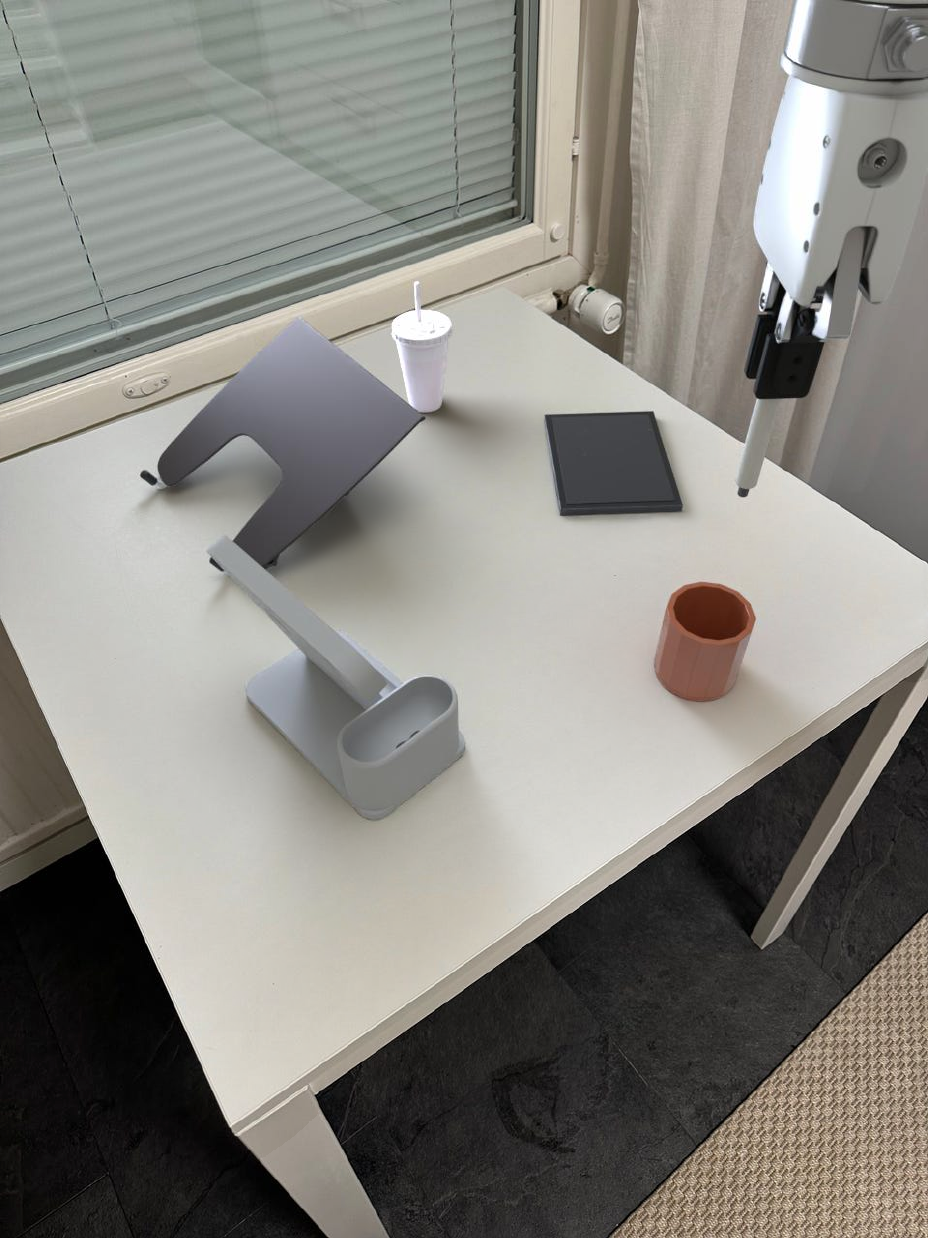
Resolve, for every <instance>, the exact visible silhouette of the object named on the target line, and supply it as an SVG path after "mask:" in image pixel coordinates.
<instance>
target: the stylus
mask: <svg viewBox="0 0 928 1238" xmlns="http://www.w3.org/2000/svg"><path fill="white" fill-rule="evenodd" d="M784 297H785V296H784ZM783 301H784V298H783ZM782 304H783V302H782ZM781 308H782V306H781ZM805 308H808V306H801V307H800V310H799V312H801V311H802V310H803V309H805ZM780 311H781V310H780ZM779 315H780V313H779ZM778 318H779V317H778ZM777 322H778V321H777ZM774 334H775V332H774ZM781 402H782V399H757V398H756V401H755V405H754V408H753V412H752V415H751V419H750V423H749V427H748V430H747V433H746V434H747V435H746V437H745V440H744V441H745V442H744V446H743V448H742V449H743V450H742V453H741V457H740V461H739V464H738V469H737V472H736V476H735V480H734V481H735V485H736V486H737V487H738V489H737V493H736V494H737V496H738V497H740V498H747V497H748V495H749V492H750V490H751V489H754V488H755V487H756V486H757V484H758V481H759V477H760V474H761V470H762V467H763V464H764V460H765V457H766V454H767V450H768V446H769V443H770V439H771V436H772V433H773V429H774V425H775V422H776V419H777V415H778V412H779V409H780V404H781Z"/></svg>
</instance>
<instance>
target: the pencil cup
mask: <svg viewBox="0 0 928 1238" xmlns="http://www.w3.org/2000/svg"><path fill="white" fill-rule="evenodd" d="M665 607H666V608H665V611H664V617H663V621H662V625H661V630H660V634H659V638H658V643H657V647H656V652H655V656H654V671H655V675H656V677H657V679H658V681H659V682H660V683H661V685H662V686H663V687H664V688H665V689H666V690H668V691H669V692H670V693H671V694H673V695H675V696H677V697H679V698H682V699H685V700H687V701H692V702H711V701H715V700H718V699H720V698H722V697H724V696H726V695H727V694H728V693H730V691H731V690H732V688H733V687H734V686H735V684H736V680H737V677H738V675H739V672H740V669H741V666H742V663H743V659H744V657H745V654H746V652H747V648H748V645H749V642H750V640H751V636H752V633H753V630H754V627H755V623H756V620H757V618H756V614H755V611H754V608H753V606H752V604H751V602H750V601H748V599H746V597H744V595H742V594H741V592H739V591H737V590H735V589H733V588H731V587H729V586H726V585H725V584H722V583H716V582H709V581H698V582H691V583H687V584H684V585H682V586H680V587H679V588H678V589H676V590H675V591H674V592H672V593H671V594H670V597H669V599H668V602H667V604H666V606H665Z"/></svg>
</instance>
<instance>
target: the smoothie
mask: <svg viewBox="0 0 928 1238" xmlns="http://www.w3.org/2000/svg"><path fill="white" fill-rule="evenodd" d="M413 287H414V289H413V290H414V304H415V310H410V311H407V312H404V313H402V314H400V315H398V316H397V317H396V318H395V319H394V320H393V322H392V323H391V329H392V331H391V336H392V338H393V340H394V341H395V342H396V347H397V352H398V356H399V361H400V366H401V370H402V375H403V381H404V385H405V390H406V396H407V402H408V404H410V405H411V406H412V407H413V408H415V409H416V410H417V411H418V412H420V413H421V414H422V413H423V414H425V413H432V412H435V411H437V410H439V409H440V408H441V407H442V405H443V396H444V387H445V377H446V369H447V360H448V352H449V351H448V350H449V340H450V339H451V338H452V336H453V328H452V327H453V326H452V321H451V319H450V318H449V317H448V316H447V315H445V314H444V313H442V312H439V311H435V310H430V309H422V308H421V307H422V305H421V284H420V281H414V282H413Z"/></svg>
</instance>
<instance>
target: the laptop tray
mask: <svg viewBox="0 0 928 1238" xmlns="http://www.w3.org/2000/svg"><path fill="white" fill-rule="evenodd" d="M424 421H426V416H425V415H424V414H422V412H418V411H417V410H416V409H415V408H413V407H412V406H411V405H410V404H409V402H408V401H406V400H405V399H403V397H401V396H400V395H398V394H397V393H396V392H394V390H392V389H391V388H390V387H389V386H387V385H386V384H385V383H383V382H382V381H381V380H380V379H378V378H377V377H376V376H375V375H373V374H372V373H371V372H370V371H368V370H367V369H366V368H365V367H363V366H362V365H361V364H360V363H359V362H357V360H355V359H353V358H352V357H351V356H350V355H348V354H347V353H345V352H344V351H343V350H342V349H341V348H339V346H337V345H336V344H334V343H333V342H332V341H331V340H330V339H328V338H327V337H326V336H325V335H324V334H322V333H321V332H320V331H318V330H317V329H316V328H315V327H313V326H312V325H311V324H310V323H308V322H307V321H306V320H305V319H303V318H302V317H301V316H297V317H296V318H294V319H293V320H292V321H291V322H290V323H289V324H288V325H287V326H286V327H285V328H284V329H282V331H281V332H279V333H278V334H277V335H276V336H275V337H273V339H272V340H271V341H270V342H269V343H267V344H266V345H265V346H264V347H263V348H262V349H261V350H260V351H259V352H258V353H257V354H256V355H255V356H254V357H253V358H252V359H251V360H250V361H249V362H247V364H246V365H244V367H242V368H241V370H240V371H238V372H237V374H236V375H234V377H232V378H231V379H230V381H229V382H227V384H225V385H224V386H223V387H222V388H221V389H220V390H219V392H217V393H216V394H215V396H213V397H212V399H211V400H209V401H208V403H207V404H205V405H204V407H203V408H202V409H200V411H199V412H198V413H197V414H196V415H195V416H194V417H193V418H192V419H191V420H190V421H189V423H188V424H187V425H185V427H184V428H183V429H182V430H181V432H179V434H178V435H177V436H176V437H175V438H174V439H173V440H172V441H171V443H170V444H169V445H168V446H167V447H166V448H165V449H164V450H163V452H162V454H161V455H160V457H159V459H158V462H157V473H158V475H159V477H160V479H161V480H158V478H157V477H156V476H154V475H153V474H152V473H151V472H149V471H148V470H147V469H143V470H142V471H140V474H139V476H140V478H141V479H143V481H145V482H146V483H147V484H148V485H150V486H152V487H153V488H155V489H157V490H163V489H166V488H167V487H168V488H172V487H175V486H176V485H178V484H180V483H181V482H182V481H183V480H185V479H186V478H187V477H188V476H190V475H191V474H192V473H194V472H195V471H197V470H198V469H199V468H200V467H202V466H203V465H205V464H206V463H207V462H208V461H209V460H210V459H212V458H213V457H214V456H216V454H217V453H219V452H220V451H221V450H223V448H224V447H226V446H227V445H228V444H229V443H230V442H232V441H233V440H234V439H237V438H238V437H242V436H247V437H249V438H250V439H252V440H253V441H254V442H255V443H256V444H257V445H258V446H259V447H260V448H261V449H262V450H263V451H264V452H265V453H266V454H267V455H268V456H269V457H270V458H271V459H272V460H273V461H274V462H275V463H276V464H277V465H278V467H279V468H280V469H281V472H282V477H281V481H280V483H279V485H278V486H277V488H276V489H275V490H274V491H273V492H272V494H270V495H269V496H268V497H267V499H266V500H265V501H264V502H263V503H262V504H261V505H260V507H258V509H257V510H256V511H255V513H253V515H252V516H251V517H250V518H249V520H248V521H247V522H246V523H245V524H244V525H243V527H242V528H241V529H240V530H239V532H238V533H237V534H236V536H235V537H234V538H233V540H232V541H233V542H234V543H235V544H236V545H237V546H239V547H240V548H241V549H242V550H243V551H244V552H245V553H247V554H248V555H249V556H250V557H251V558H252V559H253V560H255V561H256V562H257V563H258V564H259V565H260V566H261V567H263V568H264V569H265V570H266V571H267V569H269V568H275V567H277V566H278V558H279V557H280V555H281V554H282V553H283V552H285V551H286V550H287V549H288V548H289V547H290V546H292V545H293V544H294V543H295V542H296V541H297V540H299V538H301V537H302V536H303V535H304V534H306V532H308V531H309V530H310V529H312V527H314V526H315V525H316V524H317V523H318V522H319V521H320V520H321V519H323V518H324V517H325V516H326V515H327V514H328V513H329V512H330V511H332V509H333V508H334V507H336V506H337V505H338V504H339V503H340V502H341V501H342V500H343V499H344V498H345V497H348V495H349V494H350V493H351V492H352V490H353V489H355V488H356V487H357V486H358V485H359V484H360V483H361V482H362V481H363V480H364V479H365V478H366V477H367V476H368V475H369V474H370V473H372V471H373V470H375V469H376V467H378V466H379V465H380V464H381V462H382V461H384V459H386V458H387V457H388V456H389V455H390V454H391V453H392V452H393V451H394V449H395V448H397V447H398V445H400V444H401V443H402V441H404V440H405V438H406V437H407V436H408V435H409V434H410V433H412V431H413V430H414V429H416V427H417V426H418V425H419V424H420V423H422V422H424ZM208 561H209V564H210V565H212V566H213V567H214V568H216V569H217V570H218V571H219V572H221V573H223V574H225V575H228V574H227V573H226V572H225V571H224V570H223V569H222V568H221V566H220V565H219V564H218V563H217V562H216V561H215V560H214V559H213V558H212V557H211V556H210V557H209V560H208Z"/></svg>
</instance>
